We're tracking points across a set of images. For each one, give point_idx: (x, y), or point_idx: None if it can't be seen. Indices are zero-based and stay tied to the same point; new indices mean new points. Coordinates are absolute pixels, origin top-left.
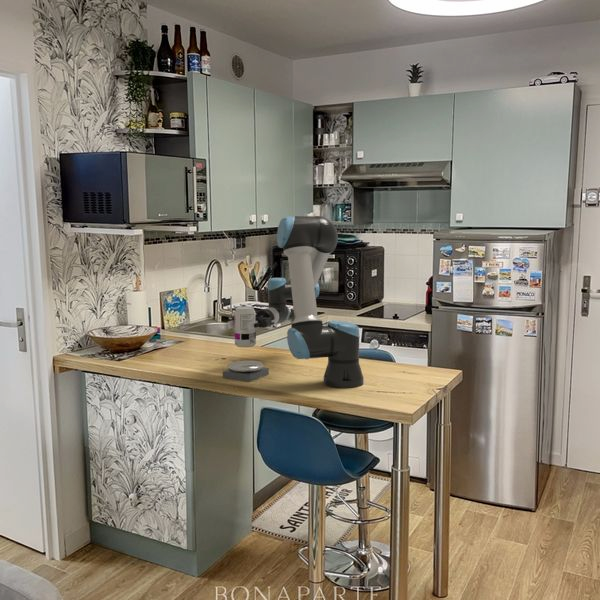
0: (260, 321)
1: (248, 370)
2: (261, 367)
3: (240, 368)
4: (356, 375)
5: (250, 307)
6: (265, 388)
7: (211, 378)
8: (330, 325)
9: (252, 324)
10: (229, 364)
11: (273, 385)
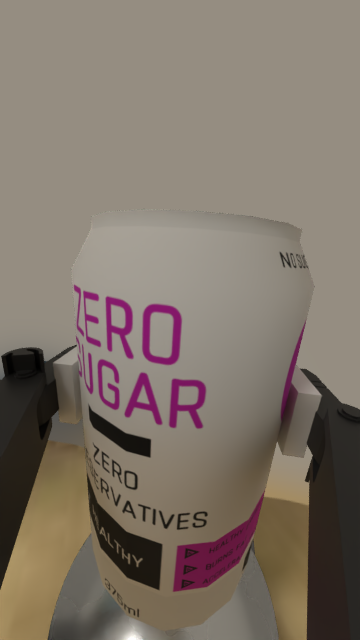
0: (23, 368)
1: None
2: (66, 581)
3: None
4: None
5: (150, 220)
6: (67, 453)
7: (276, 521)
8: None
9: None
10: (250, 561)
11: (35, 488)
